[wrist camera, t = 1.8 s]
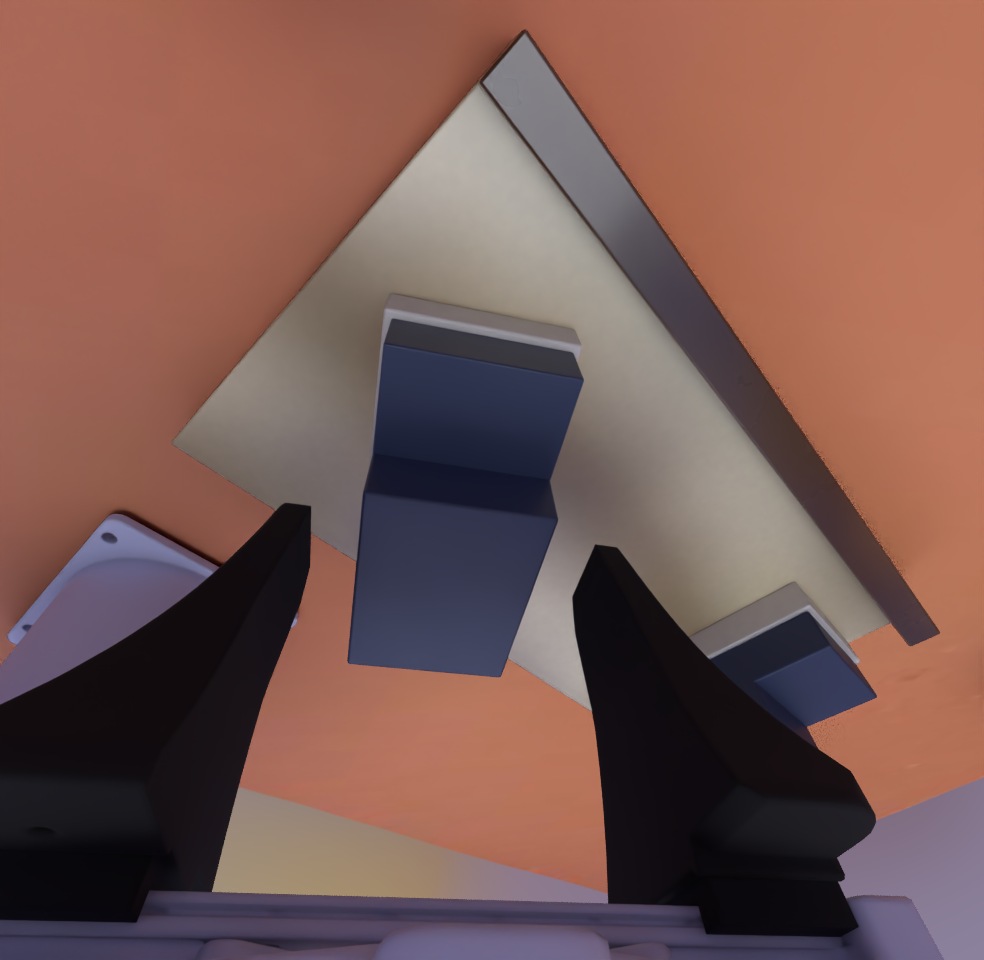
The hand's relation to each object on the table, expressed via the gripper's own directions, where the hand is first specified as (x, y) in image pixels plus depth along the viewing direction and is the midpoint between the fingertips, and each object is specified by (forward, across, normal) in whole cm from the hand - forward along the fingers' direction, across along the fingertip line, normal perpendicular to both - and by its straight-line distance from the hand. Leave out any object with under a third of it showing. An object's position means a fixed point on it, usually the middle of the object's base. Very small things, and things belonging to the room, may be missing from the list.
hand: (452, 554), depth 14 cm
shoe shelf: (+6, -6, +2) cm, 8 cm away
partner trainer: (+4, -13, +8) cm, 16 cm away
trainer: (+4, 0, 0) cm, 4 cm away
